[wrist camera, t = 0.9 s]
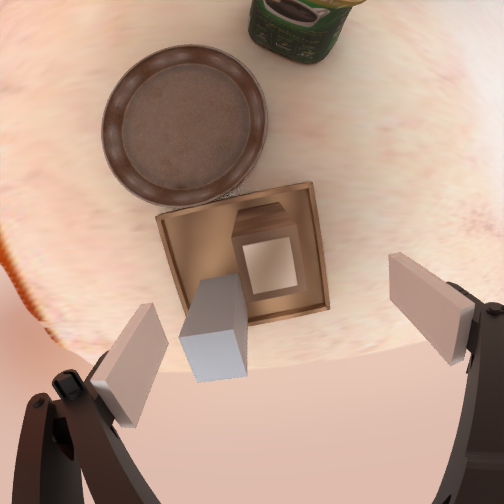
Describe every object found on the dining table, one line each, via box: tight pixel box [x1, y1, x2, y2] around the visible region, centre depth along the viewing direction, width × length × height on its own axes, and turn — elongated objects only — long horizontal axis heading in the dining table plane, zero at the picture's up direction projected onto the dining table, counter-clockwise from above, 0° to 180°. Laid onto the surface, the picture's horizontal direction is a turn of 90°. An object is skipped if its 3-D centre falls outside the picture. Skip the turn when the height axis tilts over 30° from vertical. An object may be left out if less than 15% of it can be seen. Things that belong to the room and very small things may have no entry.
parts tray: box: [155, 182, 330, 326], centre depth 32 cm, size 17×15×2 cm
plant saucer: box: [101, 44, 267, 208], centre depth 27 cm, size 18×18×3 cm
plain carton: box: [179, 273, 248, 382], centre depth 28 cm, size 4×5×12 cm
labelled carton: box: [231, 202, 307, 303], centre depth 26 cm, size 4×5×12 cm
